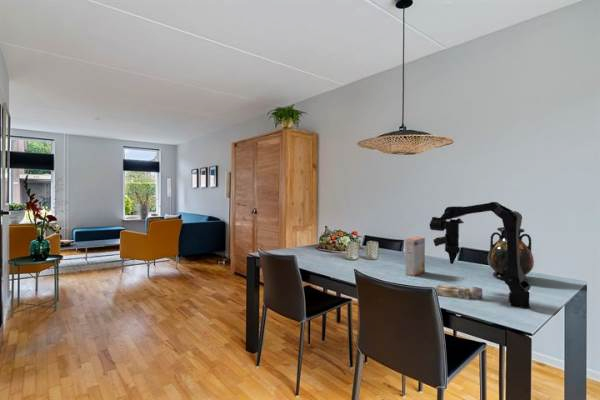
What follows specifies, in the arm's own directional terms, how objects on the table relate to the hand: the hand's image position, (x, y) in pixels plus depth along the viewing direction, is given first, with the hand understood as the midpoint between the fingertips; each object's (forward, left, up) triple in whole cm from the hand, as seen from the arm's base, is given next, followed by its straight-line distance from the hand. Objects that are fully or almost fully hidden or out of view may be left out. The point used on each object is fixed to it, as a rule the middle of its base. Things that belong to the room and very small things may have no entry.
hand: (451, 263), depth 157 cm
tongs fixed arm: (0, +11, -13) cm, 17 cm away
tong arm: (-3, +9, -12) cm, 16 cm away
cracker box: (+19, -26, -13) cm, 35 cm away
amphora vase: (-30, -37, -13) cm, 49 cm away
